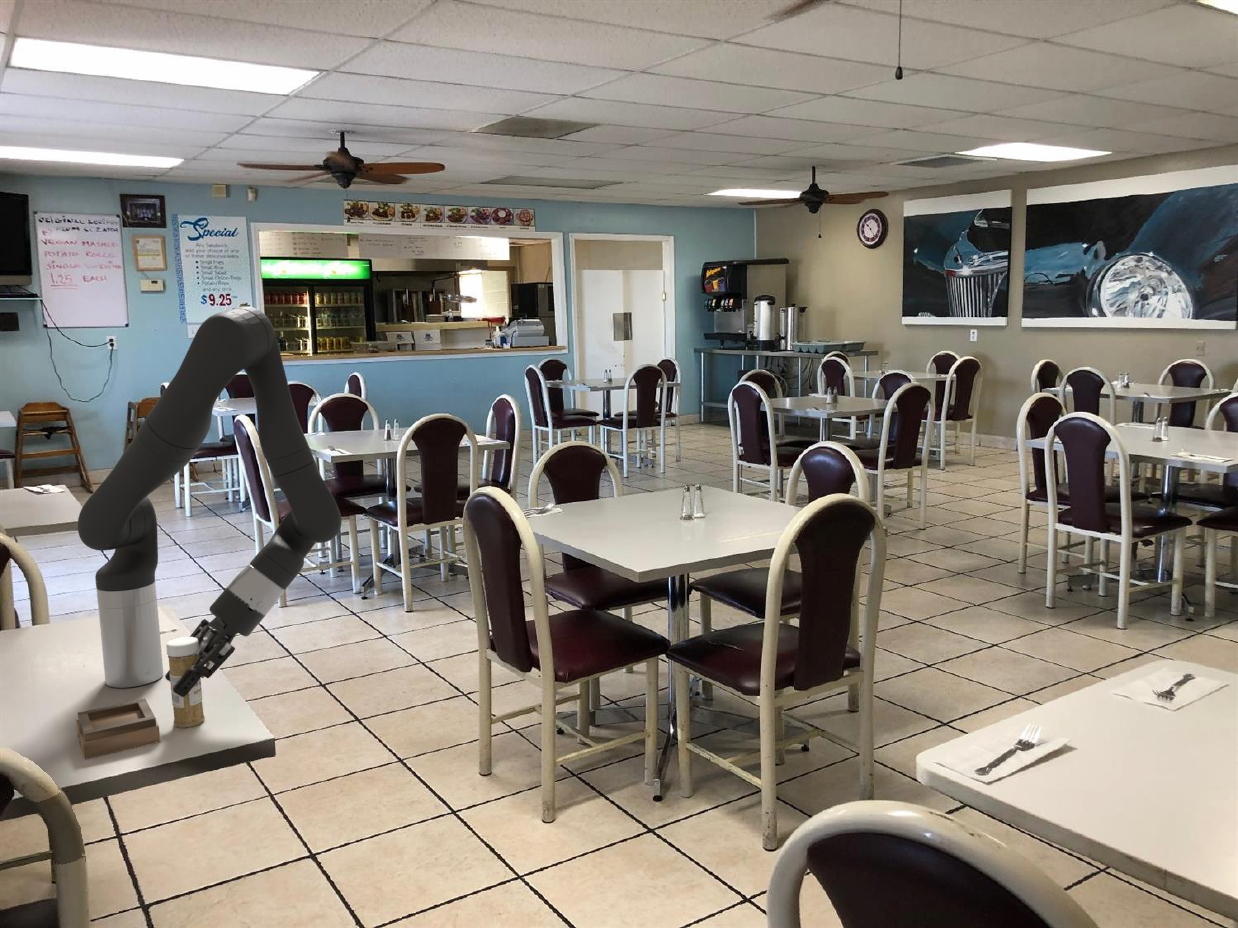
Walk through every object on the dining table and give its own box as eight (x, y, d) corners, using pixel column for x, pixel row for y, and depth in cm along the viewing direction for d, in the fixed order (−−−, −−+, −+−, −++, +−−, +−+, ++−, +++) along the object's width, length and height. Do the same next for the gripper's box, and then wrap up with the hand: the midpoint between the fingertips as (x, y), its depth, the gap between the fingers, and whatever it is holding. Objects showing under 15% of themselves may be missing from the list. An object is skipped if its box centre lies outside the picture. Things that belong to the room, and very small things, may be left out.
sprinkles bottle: (207, 724, 153) (200, 641, 151) (175, 731, 150) (168, 647, 148) (201, 714, 157) (195, 633, 155) (170, 721, 154) (163, 639, 152)
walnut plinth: (77, 735, 149) (75, 712, 149) (148, 719, 155) (146, 697, 154) (85, 759, 141) (82, 735, 141) (160, 741, 147) (158, 718, 146)
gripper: (218, 577, 161) (145, 661, 156) (240, 597, 149) (161, 689, 144) (254, 602, 164) (183, 686, 159) (278, 624, 153) (202, 714, 148)
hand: (173, 687), depth 152 cm, fingers open, 5 cm apart
